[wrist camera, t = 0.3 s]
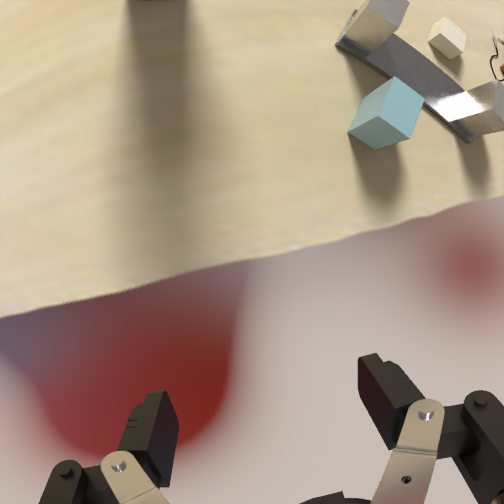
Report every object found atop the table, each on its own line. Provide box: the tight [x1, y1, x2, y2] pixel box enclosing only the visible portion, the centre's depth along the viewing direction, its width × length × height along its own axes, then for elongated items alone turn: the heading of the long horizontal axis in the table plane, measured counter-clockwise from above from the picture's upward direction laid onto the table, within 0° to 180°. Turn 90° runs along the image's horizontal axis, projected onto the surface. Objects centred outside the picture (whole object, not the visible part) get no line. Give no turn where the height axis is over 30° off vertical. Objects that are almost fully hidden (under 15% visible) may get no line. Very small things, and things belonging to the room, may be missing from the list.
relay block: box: [428, 17, 467, 60], centre depth 36 cm, size 5×5×4 cm
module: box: [348, 76, 424, 150], centre depth 34 cm, size 4×6×9 cm
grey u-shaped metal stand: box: [335, 0, 504, 144], centre depth 33 cm, size 26×8×10 cm, turn 63°
